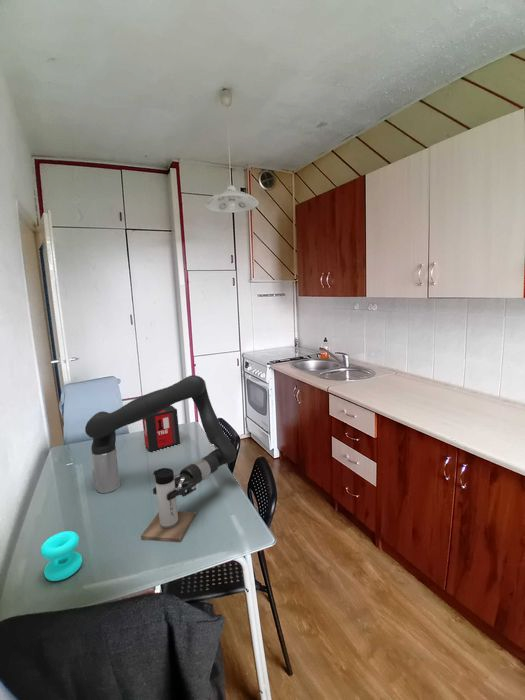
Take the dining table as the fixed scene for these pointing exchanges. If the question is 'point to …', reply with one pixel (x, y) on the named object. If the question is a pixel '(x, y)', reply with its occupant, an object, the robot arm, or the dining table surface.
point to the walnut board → (171, 534)
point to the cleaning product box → (161, 430)
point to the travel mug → (165, 507)
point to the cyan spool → (61, 555)
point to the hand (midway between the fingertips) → (160, 494)
